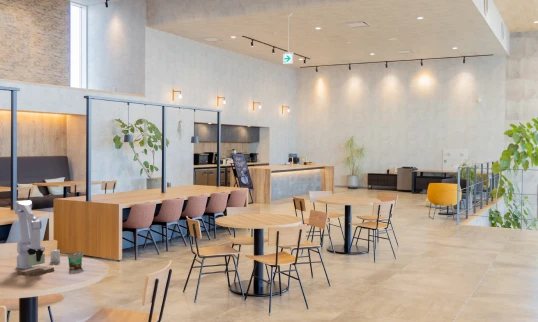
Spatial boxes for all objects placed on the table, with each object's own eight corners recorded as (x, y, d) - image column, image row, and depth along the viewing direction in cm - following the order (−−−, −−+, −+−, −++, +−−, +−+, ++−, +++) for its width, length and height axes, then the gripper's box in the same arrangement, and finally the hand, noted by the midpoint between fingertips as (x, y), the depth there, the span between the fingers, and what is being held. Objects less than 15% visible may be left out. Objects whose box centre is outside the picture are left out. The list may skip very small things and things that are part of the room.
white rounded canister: (48, 262, 361) (48, 250, 361) (55, 260, 367) (55, 249, 366) (54, 263, 359) (54, 251, 358) (61, 261, 364) (61, 250, 364)
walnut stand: (17, 274, 328) (17, 270, 328) (38, 268, 343) (38, 265, 343) (33, 276, 322) (33, 273, 322) (54, 270, 337) (54, 267, 337)
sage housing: (27, 264, 330) (27, 255, 330) (40, 262, 339) (40, 252, 339) (32, 265, 328) (32, 256, 328) (46, 262, 337) (46, 253, 337)
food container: (76, 270, 336) (76, 255, 336) (67, 270, 337) (67, 254, 337) (87, 266, 348) (86, 251, 348) (78, 266, 349) (78, 251, 349)
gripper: (48, 239, 332) (49, 260, 333) (32, 237, 339) (32, 258, 339) (39, 241, 326) (39, 263, 326) (23, 239, 332) (23, 260, 333)
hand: (35, 261), depth 332 cm, fingers closed on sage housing, 5 cm apart
